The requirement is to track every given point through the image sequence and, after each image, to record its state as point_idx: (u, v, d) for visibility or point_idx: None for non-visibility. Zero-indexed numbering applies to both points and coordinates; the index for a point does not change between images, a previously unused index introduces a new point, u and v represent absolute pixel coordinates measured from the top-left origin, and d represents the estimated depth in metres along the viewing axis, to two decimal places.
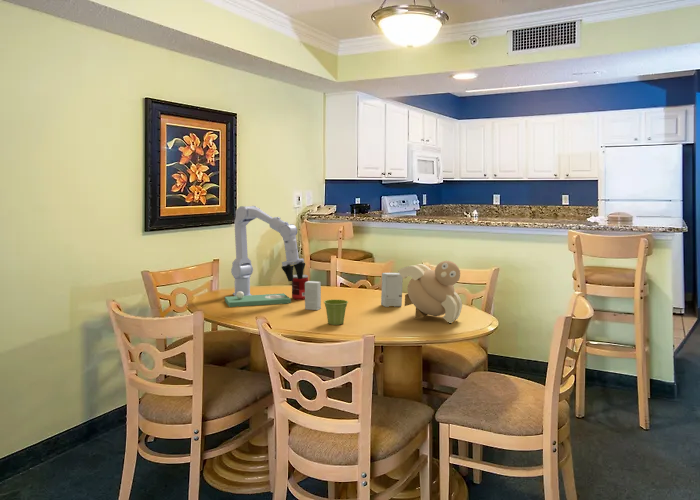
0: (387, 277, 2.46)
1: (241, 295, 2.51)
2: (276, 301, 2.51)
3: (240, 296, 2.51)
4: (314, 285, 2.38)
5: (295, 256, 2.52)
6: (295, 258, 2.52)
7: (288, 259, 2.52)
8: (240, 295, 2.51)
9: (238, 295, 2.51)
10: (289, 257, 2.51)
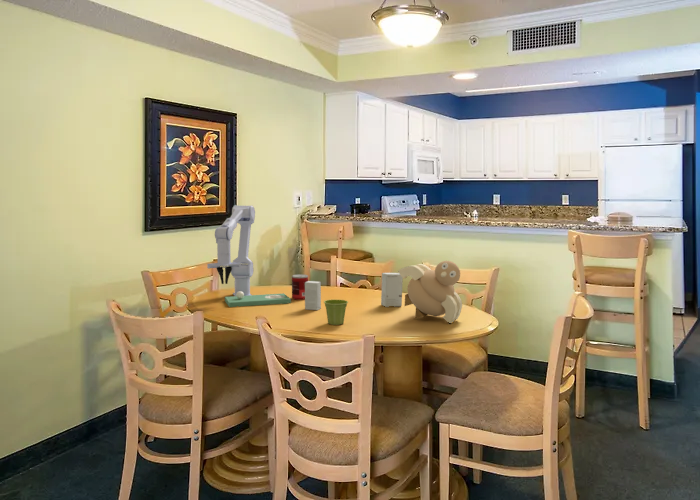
0: (387, 277, 2.46)
1: (241, 295, 2.51)
2: (276, 301, 2.51)
3: (240, 296, 2.51)
4: (314, 285, 2.38)
5: (222, 260, 2.45)
6: (222, 262, 2.45)
7: None
8: (240, 295, 2.51)
9: (238, 295, 2.51)
10: None
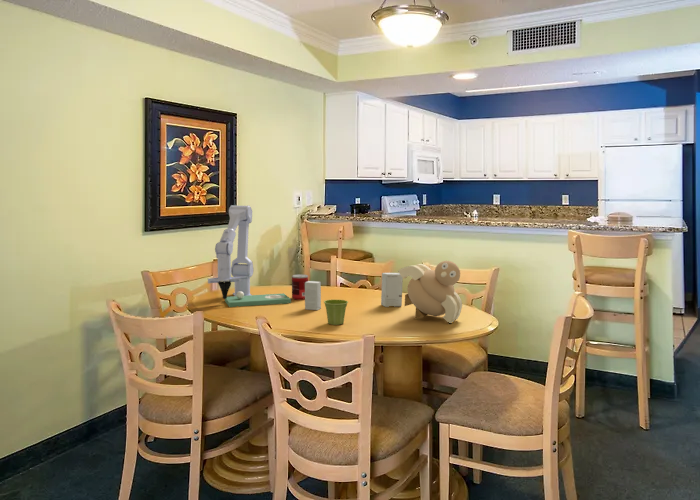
0: (387, 277, 2.46)
1: (241, 295, 2.51)
2: (276, 301, 2.51)
3: (240, 296, 2.51)
4: (314, 285, 2.38)
5: (222, 275, 2.46)
6: (222, 277, 2.46)
7: (218, 276, 2.48)
8: (240, 295, 2.51)
9: (238, 295, 2.51)
10: (218, 275, 2.48)
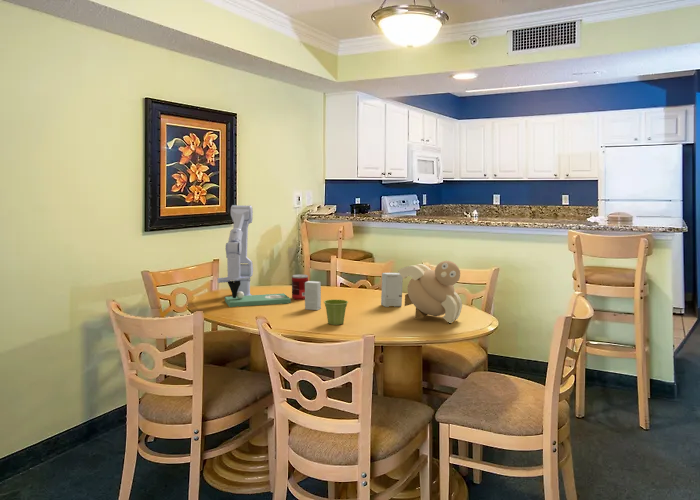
0: (387, 277, 2.46)
1: (241, 295, 2.51)
2: (276, 301, 2.51)
3: (240, 296, 2.51)
4: (314, 285, 2.38)
5: (232, 275, 2.48)
6: (232, 277, 2.48)
7: None
8: (240, 295, 2.51)
9: (238, 295, 2.51)
10: None
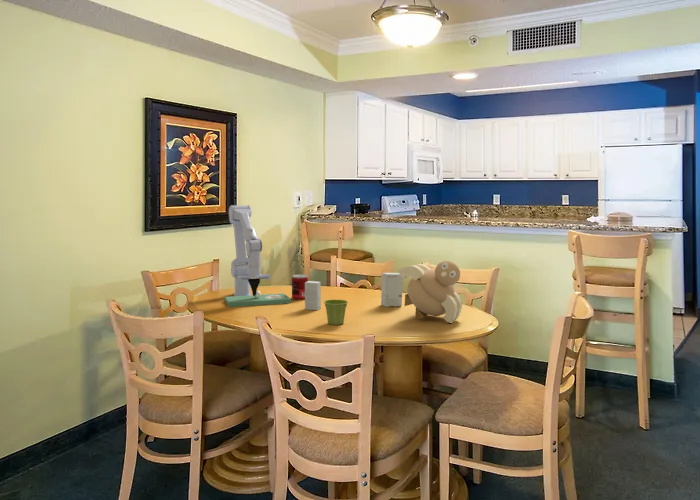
0: (387, 277, 2.46)
1: (257, 293, 2.53)
2: (276, 301, 2.51)
3: (259, 294, 2.53)
4: (314, 285, 2.38)
5: (252, 272, 2.50)
6: (252, 274, 2.50)
7: (247, 274, 2.52)
8: (258, 295, 2.53)
9: (258, 296, 2.53)
10: (248, 272, 2.52)
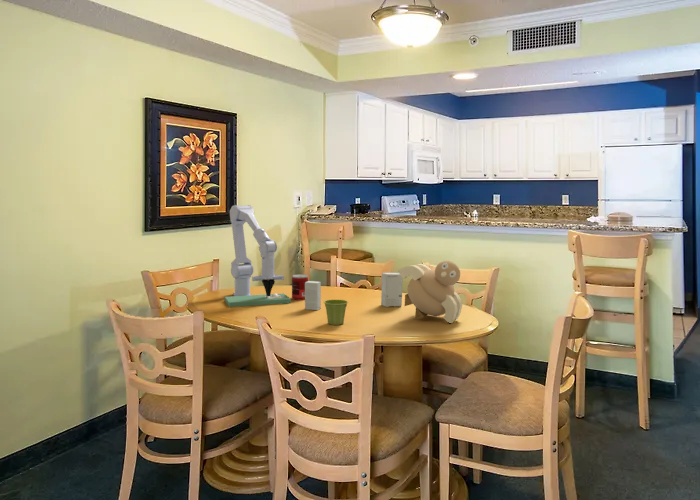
0: (387, 277, 2.46)
1: (273, 297, 2.57)
2: (276, 301, 2.51)
3: (273, 295, 2.57)
4: (314, 285, 2.38)
5: (266, 273, 2.53)
6: (266, 275, 2.53)
7: (262, 274, 2.55)
8: (273, 295, 2.57)
9: (275, 295, 2.58)
10: (262, 273, 2.54)
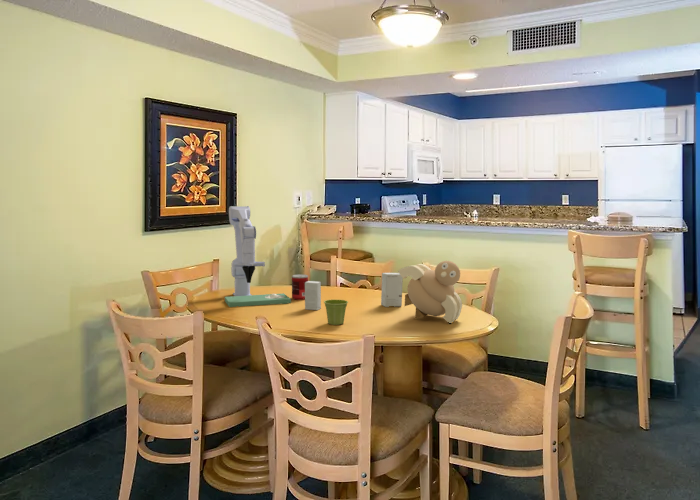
0: (387, 277, 2.46)
1: None
2: (276, 301, 2.51)
3: (272, 297, 2.57)
4: (314, 285, 2.38)
5: (247, 259, 2.49)
6: (246, 261, 2.49)
7: (242, 261, 2.51)
8: None
9: (273, 296, 2.56)
10: (242, 259, 2.51)
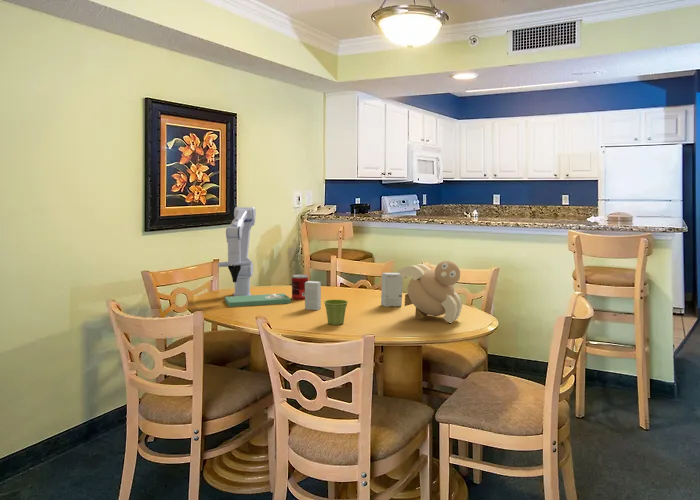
0: (387, 277, 2.46)
1: None
2: (276, 301, 2.51)
3: None
4: (314, 285, 2.38)
5: (232, 259, 2.50)
6: (232, 261, 2.50)
7: (228, 260, 2.52)
8: None
9: (273, 297, 2.56)
10: (228, 259, 2.51)
